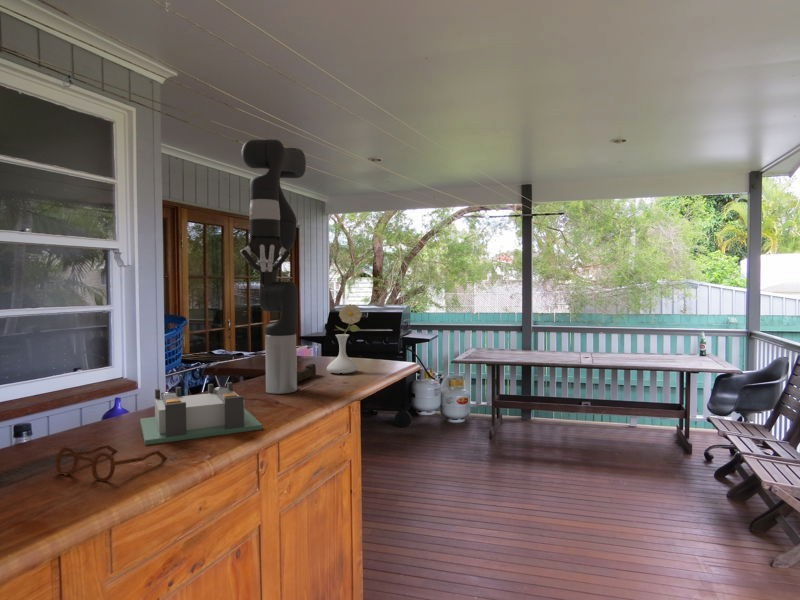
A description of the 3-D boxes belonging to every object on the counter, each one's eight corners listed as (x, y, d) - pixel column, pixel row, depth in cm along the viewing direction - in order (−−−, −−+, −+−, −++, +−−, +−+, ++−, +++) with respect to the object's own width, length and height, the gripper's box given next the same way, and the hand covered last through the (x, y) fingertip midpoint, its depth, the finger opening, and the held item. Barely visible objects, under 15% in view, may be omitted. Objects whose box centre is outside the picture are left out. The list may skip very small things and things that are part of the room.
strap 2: (213, 394, 133) (213, 386, 133) (226, 393, 135) (226, 385, 135) (226, 407, 119) (226, 398, 119) (240, 405, 120) (240, 397, 120)
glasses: (54, 476, 94) (53, 448, 94) (116, 453, 106) (115, 428, 106) (111, 485, 90) (110, 456, 90) (168, 460, 102) (168, 434, 102)
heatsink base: (140, 422, 127) (139, 389, 127) (243, 410, 139) (242, 379, 138) (145, 445, 110) (144, 406, 110) (262, 429, 122) (261, 394, 121)
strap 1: (161, 400, 128) (160, 391, 128) (174, 398, 129) (174, 390, 129) (167, 413, 113) (167, 404, 113) (182, 412, 115) (182, 402, 115)
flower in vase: (322, 375, 190) (322, 304, 189) (332, 369, 201) (331, 303, 200) (358, 376, 188) (358, 304, 187) (366, 370, 199) (365, 303, 198)
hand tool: (296, 386, 171) (296, 372, 171) (285, 385, 173) (284, 371, 173) (322, 376, 189) (322, 363, 189) (312, 375, 191) (312, 362, 191)
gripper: (285, 221, 143) (286, 286, 144) (235, 219, 137) (236, 286, 138) (294, 218, 137) (295, 286, 138) (241, 216, 131) (242, 287, 131)
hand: (265, 286), depth 138 cm, fingers closed
